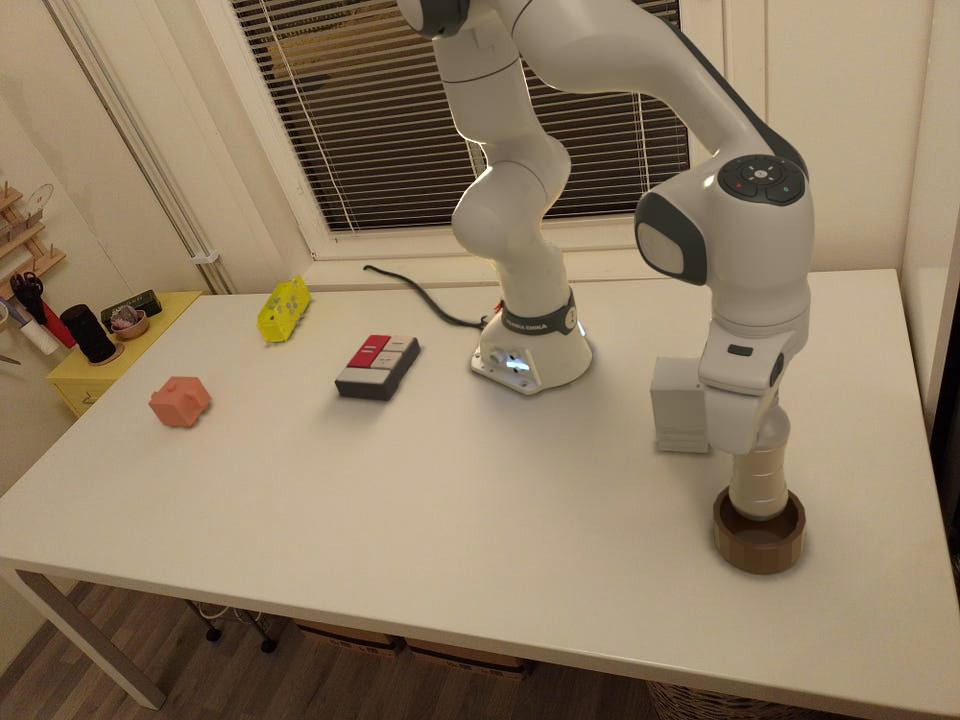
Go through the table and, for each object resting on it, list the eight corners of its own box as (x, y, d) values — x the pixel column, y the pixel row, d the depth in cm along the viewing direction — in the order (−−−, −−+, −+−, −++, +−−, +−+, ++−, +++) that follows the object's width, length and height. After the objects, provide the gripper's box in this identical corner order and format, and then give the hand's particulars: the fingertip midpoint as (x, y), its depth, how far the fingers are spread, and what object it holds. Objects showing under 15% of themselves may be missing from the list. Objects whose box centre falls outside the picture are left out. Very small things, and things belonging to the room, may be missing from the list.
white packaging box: (712, 418, 108) (709, 356, 100) (708, 454, 102) (704, 392, 95) (663, 415, 110) (656, 354, 103) (656, 451, 105) (649, 389, 98)
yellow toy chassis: (289, 343, 153) (273, 313, 148) (266, 345, 154) (250, 315, 149) (314, 300, 164) (300, 270, 159) (293, 302, 166) (278, 273, 161)
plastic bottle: (791, 528, 83) (799, 410, 71) (730, 527, 85) (727, 412, 73) (784, 485, 88) (790, 367, 76) (726, 485, 90) (723, 370, 78)
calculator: (416, 333, 137) (381, 383, 127) (422, 351, 140) (388, 401, 129) (369, 332, 142) (331, 379, 131) (375, 349, 144) (339, 396, 134)
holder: (702, 557, 90) (700, 531, 87) (730, 495, 96) (729, 469, 93) (789, 588, 84) (791, 561, 81) (813, 520, 90) (815, 493, 87)
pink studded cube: (176, 400, 146) (156, 371, 141) (222, 402, 142) (202, 372, 137) (154, 428, 141) (131, 398, 136) (200, 431, 136) (179, 400, 131)
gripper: (759, 259, 76) (758, 356, 85) (690, 381, 65) (697, 479, 73) (821, 266, 73) (814, 366, 81) (761, 397, 61) (760, 497, 70)
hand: (758, 421), depth 77 cm, fingers closed on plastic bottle, 6 cm apart
